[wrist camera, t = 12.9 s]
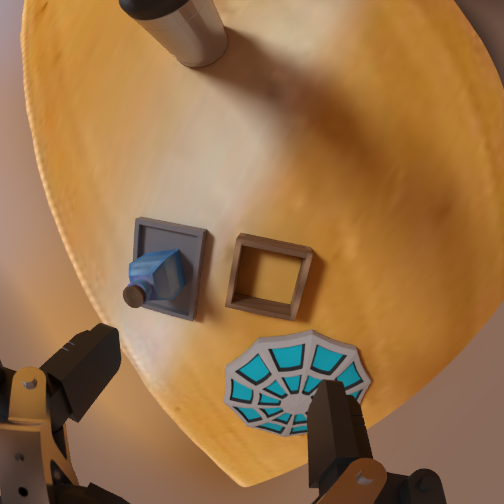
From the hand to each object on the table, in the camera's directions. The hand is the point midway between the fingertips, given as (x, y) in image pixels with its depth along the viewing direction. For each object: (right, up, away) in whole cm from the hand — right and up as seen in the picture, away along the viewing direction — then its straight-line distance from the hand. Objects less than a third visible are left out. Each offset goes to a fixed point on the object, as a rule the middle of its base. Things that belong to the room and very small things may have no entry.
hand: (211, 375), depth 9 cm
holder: (+4, +1, +35) cm, 35 cm away
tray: (-13, +2, +37) cm, 39 cm away
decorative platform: (+11, -24, +42) cm, 49 cm away
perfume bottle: (-13, +2, +36) cm, 38 cm away
